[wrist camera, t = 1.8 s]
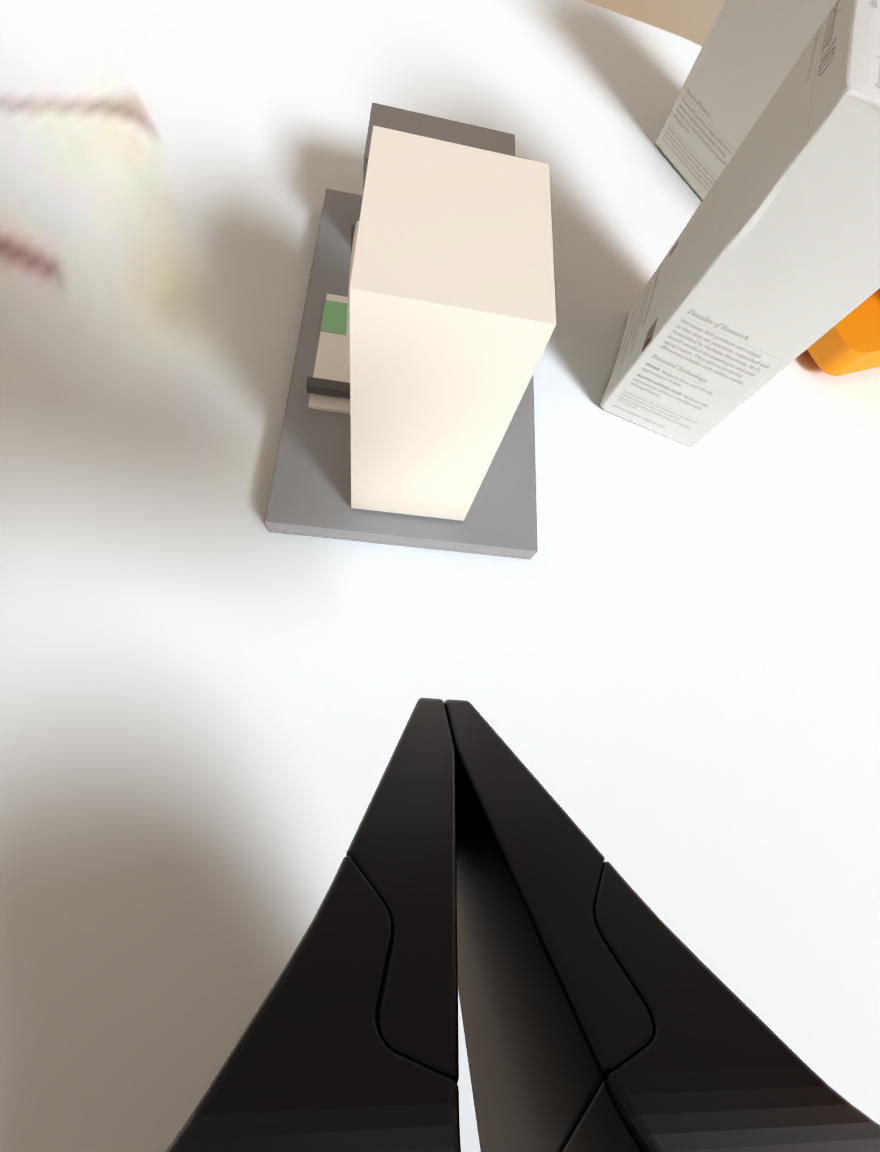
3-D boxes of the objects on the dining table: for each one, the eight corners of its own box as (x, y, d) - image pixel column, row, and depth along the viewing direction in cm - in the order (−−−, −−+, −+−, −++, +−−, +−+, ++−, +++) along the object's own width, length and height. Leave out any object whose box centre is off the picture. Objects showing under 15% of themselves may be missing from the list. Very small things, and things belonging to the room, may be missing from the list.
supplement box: (709, 212, 35) (887, -59, 23) (651, 143, 37) (790, -143, 25) (780, 195, 37) (975, -62, 26) (722, 130, 39) (880, -138, 27)
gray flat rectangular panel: (530, 559, 24) (539, 549, 22) (268, 531, 22) (264, 518, 21) (524, 245, 31) (531, 225, 30) (327, 206, 29) (326, 183, 28)
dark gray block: (488, 283, 28) (515, 189, 23) (362, 260, 27) (364, 156, 22) (489, 233, 29) (514, 134, 25) (369, 209, 28) (372, 102, 24)
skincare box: (625, 313, 30) (852, -55, 17) (716, 351, 31) (1015, 18, 17) (595, 416, 27) (843, 68, 13) (696, 458, 27) (1043, 157, 14)
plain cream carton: (463, 520, 22) (556, 324, 12) (289, 501, 21) (231, 267, 11) (469, 355, 26) (545, 90, 15) (318, 330, 25) (294, 29, 14)
